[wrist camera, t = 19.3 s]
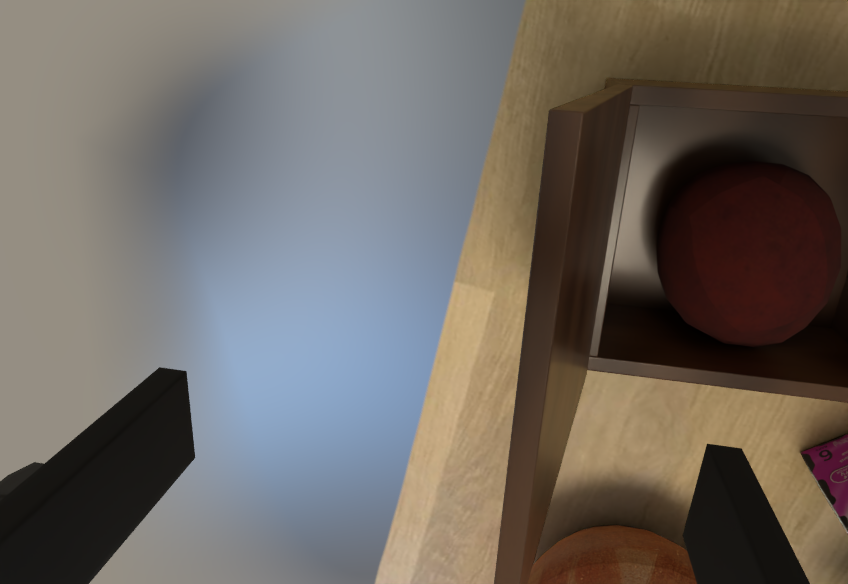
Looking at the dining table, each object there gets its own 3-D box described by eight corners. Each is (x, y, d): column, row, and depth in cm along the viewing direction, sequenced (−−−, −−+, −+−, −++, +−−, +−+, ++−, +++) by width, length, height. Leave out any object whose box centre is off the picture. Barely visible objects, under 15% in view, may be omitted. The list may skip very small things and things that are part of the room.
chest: (912, 94, 40) (1030, 107, 30) (835, 336, 46) (912, 411, 36) (606, 77, 42) (623, 84, 33) (572, 307, 49) (579, 369, 39)
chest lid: (584, 111, 15) (548, 108, 15) (513, 634, 21) (488, 625, 21) (633, 85, 32) (616, 84, 33) (586, 374, 38) (572, 371, 39)
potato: (704, 132, 43) (736, 122, 35) (854, 213, 42) (924, 222, 34) (612, 274, 46) (621, 295, 38) (750, 354, 45) (790, 392, 37)
